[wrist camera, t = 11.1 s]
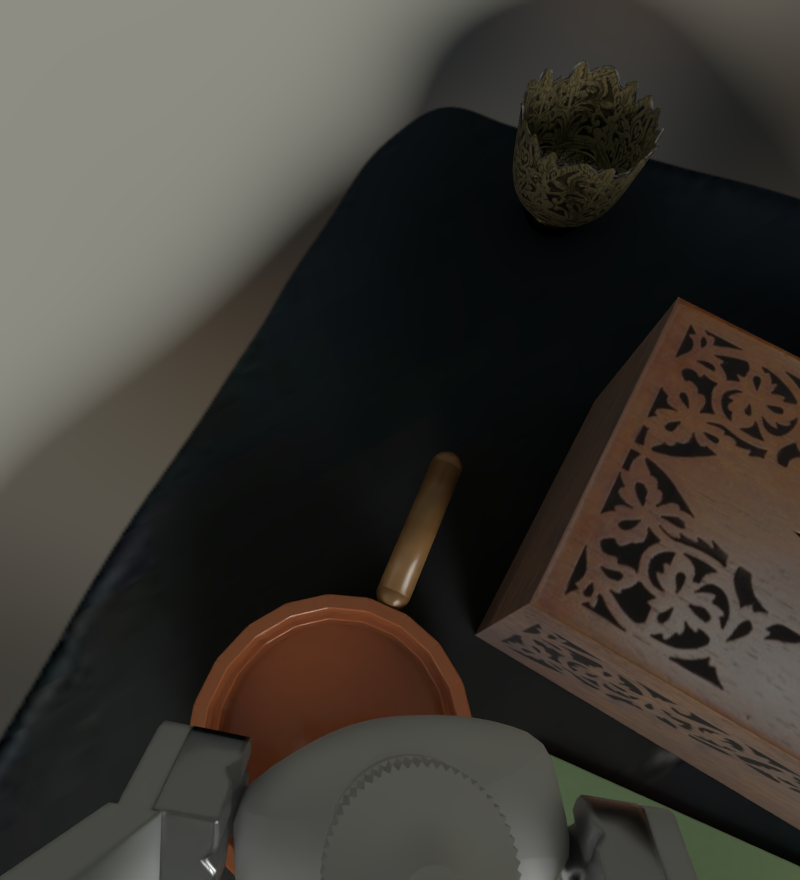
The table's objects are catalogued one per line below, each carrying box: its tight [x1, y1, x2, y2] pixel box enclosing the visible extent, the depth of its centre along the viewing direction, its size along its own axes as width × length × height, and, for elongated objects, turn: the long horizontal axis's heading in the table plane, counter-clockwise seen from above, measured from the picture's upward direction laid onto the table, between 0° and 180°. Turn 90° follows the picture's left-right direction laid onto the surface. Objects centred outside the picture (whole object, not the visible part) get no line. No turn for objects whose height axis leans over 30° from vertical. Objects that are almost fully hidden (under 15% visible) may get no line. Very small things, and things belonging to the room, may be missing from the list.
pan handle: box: [376, 451, 462, 610], centre depth 30 cm, size 8×2×2 cm, turn 157°
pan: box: [190, 594, 472, 876], centre depth 27 cm, size 11×11×4 cm
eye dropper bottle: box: [233, 715, 570, 880], centre depth 12 cm, size 4×6×12 cm
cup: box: [513, 60, 664, 237], centre depth 37 cm, size 8×7×8 cm
